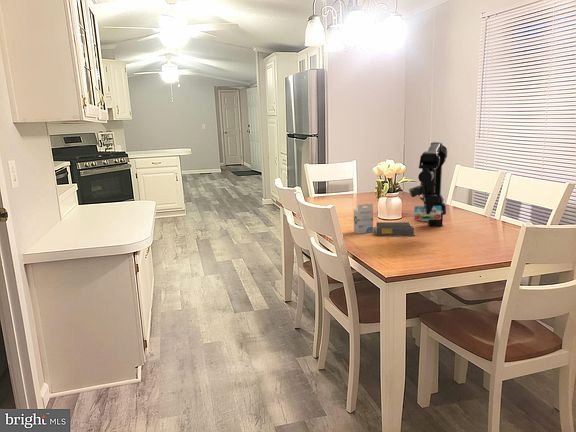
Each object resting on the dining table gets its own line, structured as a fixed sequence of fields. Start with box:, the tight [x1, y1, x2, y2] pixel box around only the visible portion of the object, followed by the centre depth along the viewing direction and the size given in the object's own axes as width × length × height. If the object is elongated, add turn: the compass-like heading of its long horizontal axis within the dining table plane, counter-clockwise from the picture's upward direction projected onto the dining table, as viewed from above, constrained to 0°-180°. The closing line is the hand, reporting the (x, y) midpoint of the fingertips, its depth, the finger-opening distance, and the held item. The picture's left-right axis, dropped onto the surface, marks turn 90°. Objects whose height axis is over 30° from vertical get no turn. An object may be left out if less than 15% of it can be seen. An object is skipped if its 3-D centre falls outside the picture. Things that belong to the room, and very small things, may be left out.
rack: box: [373, 221, 416, 237], centre depth 219 cm, size 18×15×4 cm
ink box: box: [353, 203, 374, 235], centre depth 219 cm, size 9×5×15 cm, turn 105°
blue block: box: [413, 205, 442, 221], centre depth 203 cm, size 12×2×6 cm, turn 85°
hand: (427, 213), depth 204 cm, fingers closed on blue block
